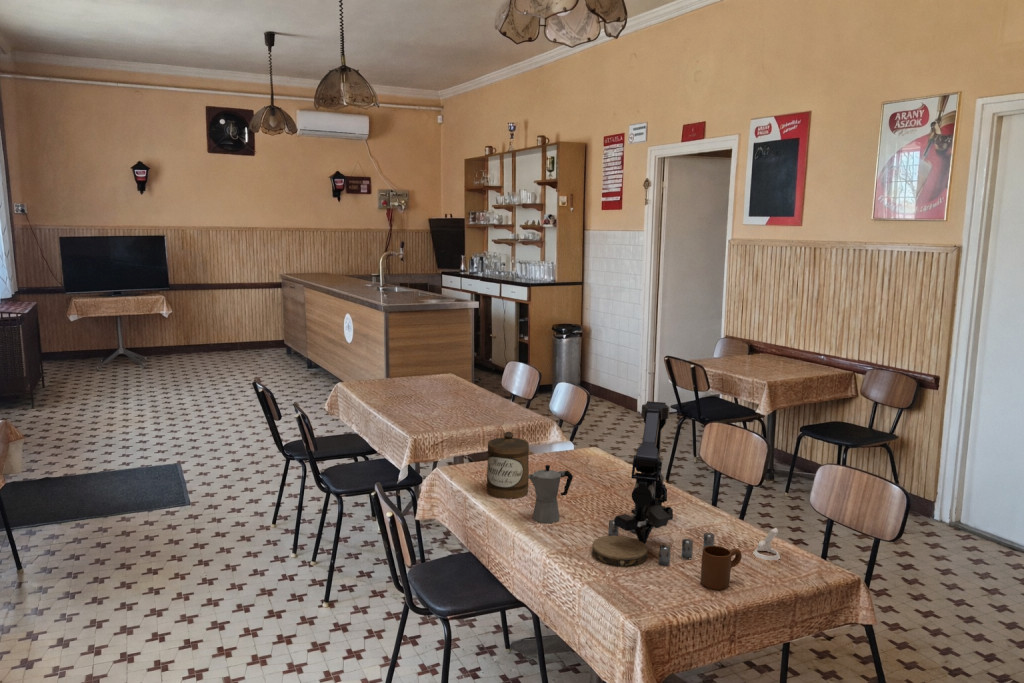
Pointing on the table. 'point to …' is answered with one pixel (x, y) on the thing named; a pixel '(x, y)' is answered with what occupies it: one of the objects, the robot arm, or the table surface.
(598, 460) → the table surface
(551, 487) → the coffeepot
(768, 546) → the hook
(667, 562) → the grey metal cylinder set
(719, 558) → the mug
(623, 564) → the brown wooden disc
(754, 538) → the table surface
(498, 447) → the wooden container
